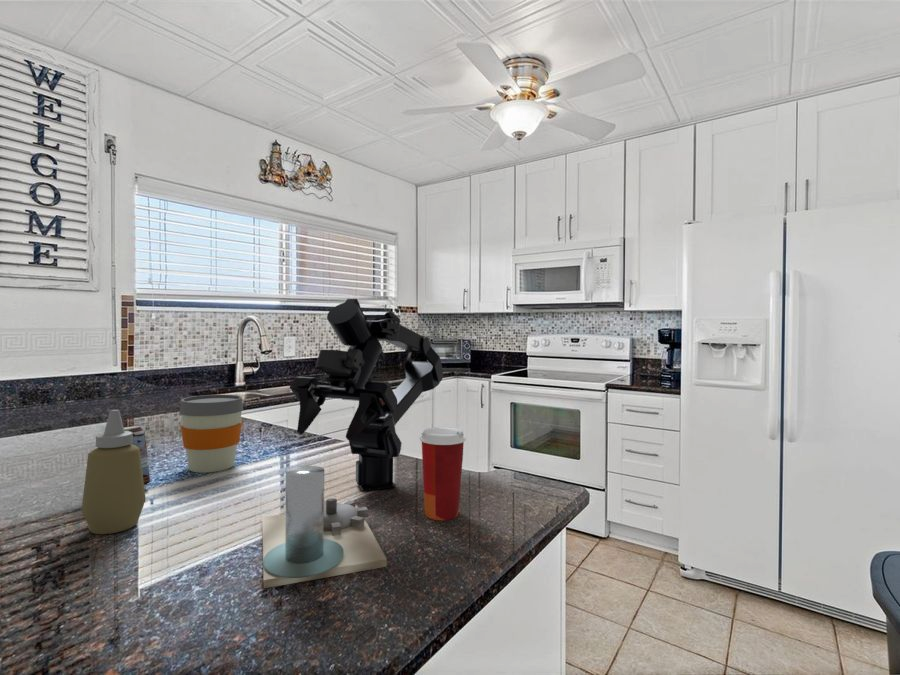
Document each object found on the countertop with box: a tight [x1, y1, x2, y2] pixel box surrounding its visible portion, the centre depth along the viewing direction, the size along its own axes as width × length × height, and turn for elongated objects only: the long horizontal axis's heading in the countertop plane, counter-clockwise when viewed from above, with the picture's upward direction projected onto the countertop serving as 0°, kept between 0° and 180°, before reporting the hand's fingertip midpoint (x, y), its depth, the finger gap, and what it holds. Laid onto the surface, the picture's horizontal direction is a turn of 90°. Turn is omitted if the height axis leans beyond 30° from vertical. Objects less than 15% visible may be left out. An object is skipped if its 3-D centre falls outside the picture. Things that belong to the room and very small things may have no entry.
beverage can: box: [124, 425, 151, 488], centre depth 89 cm, size 6×7×12 cm
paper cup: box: [418, 426, 466, 522], centre depth 80 cm, size 8×8×14 cm
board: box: [261, 497, 388, 589], centre depth 69 cm, size 16×22×4 cm
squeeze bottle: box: [81, 409, 147, 535], centre depth 73 cm, size 8×8×18 cm
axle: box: [285, 465, 325, 564], centre depth 62 cm, size 5×5×11 cm
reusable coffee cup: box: [179, 394, 244, 473], centre depth 105 cm, size 13×12×15 cm
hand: (322, 435), depth 77 cm, fingers open, 9 cm apart
